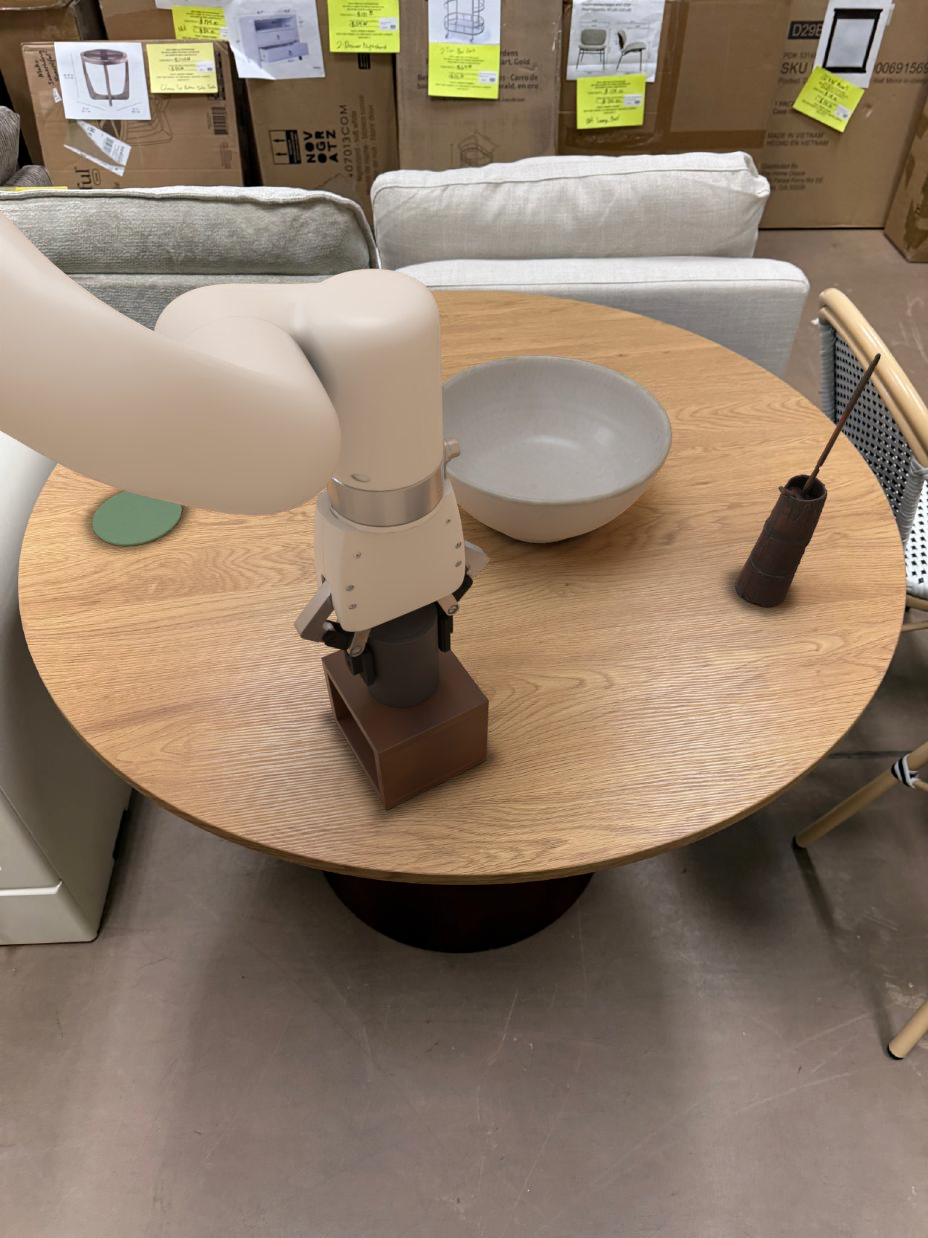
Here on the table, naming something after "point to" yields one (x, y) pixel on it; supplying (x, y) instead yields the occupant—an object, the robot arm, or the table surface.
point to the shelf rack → (410, 729)
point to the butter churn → (790, 526)
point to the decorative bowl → (551, 444)
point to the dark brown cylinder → (405, 658)
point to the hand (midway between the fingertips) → (401, 655)
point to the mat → (134, 519)
